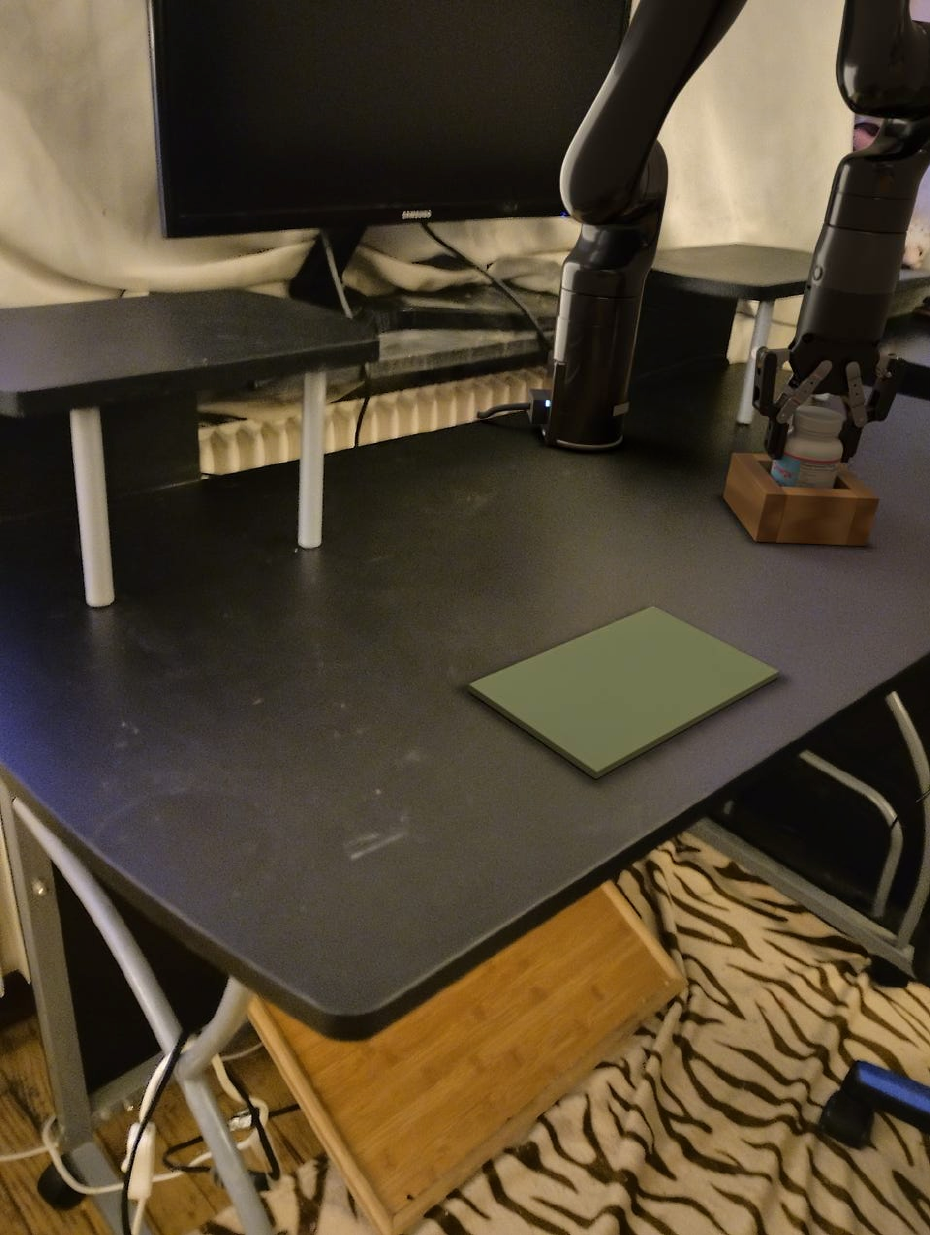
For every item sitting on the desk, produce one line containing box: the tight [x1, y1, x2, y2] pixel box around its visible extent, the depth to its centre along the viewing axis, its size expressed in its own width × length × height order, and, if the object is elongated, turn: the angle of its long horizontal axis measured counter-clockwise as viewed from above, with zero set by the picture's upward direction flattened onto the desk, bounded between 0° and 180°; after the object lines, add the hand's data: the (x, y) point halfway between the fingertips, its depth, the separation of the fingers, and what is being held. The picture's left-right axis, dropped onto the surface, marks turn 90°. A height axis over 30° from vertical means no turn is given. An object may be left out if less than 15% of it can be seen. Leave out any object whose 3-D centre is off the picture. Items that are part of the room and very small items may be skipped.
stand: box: [722, 452, 881, 547], centre depth 98 cm, size 11×11×5 cm
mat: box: [467, 605, 780, 780], centre depth 70 cm, size 20×12×1 cm, turn 131°
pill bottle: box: [770, 405, 845, 489], centre depth 96 cm, size 6×6×11 cm
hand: (806, 458), depth 96 cm, fingers closed on pill bottle, 6 cm apart
